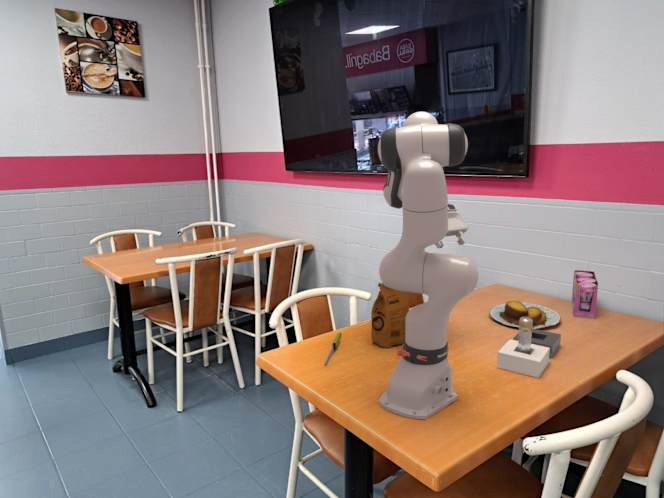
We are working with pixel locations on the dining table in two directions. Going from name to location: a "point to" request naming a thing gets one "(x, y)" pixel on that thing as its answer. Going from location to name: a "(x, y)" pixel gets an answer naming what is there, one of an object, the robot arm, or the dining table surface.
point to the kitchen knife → (333, 347)
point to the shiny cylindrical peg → (525, 335)
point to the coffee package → (389, 317)
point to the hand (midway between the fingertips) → (451, 245)
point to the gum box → (584, 294)
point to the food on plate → (524, 314)
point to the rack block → (523, 359)
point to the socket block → (544, 340)
